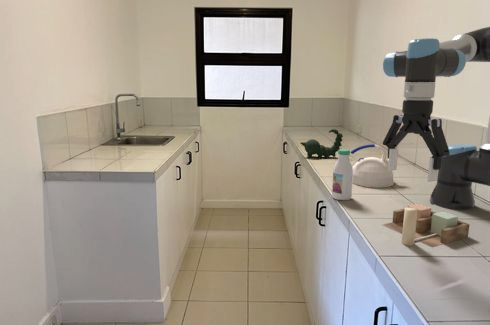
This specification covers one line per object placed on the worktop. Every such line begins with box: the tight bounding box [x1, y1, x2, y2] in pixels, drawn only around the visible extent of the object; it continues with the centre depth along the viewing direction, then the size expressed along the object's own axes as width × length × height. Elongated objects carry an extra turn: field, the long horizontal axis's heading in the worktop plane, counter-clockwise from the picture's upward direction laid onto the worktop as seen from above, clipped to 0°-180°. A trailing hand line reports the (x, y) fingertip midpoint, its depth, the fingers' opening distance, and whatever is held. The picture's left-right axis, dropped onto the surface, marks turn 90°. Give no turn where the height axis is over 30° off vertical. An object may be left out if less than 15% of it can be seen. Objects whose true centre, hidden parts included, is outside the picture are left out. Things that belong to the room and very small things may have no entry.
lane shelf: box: [382, 208, 471, 248], centre depth 119 cm, size 16×19×5 cm
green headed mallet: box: [401, 207, 459, 247], centre depth 113 cm, size 20×5×11 cm, turn 117°
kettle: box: [350, 144, 394, 189], centre depth 177 cm, size 20×21×18 cm
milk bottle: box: [331, 148, 353, 201], centre depth 152 cm, size 8×8×20 cm
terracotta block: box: [407, 203, 432, 219], centre depth 124 cm, size 5×5×6 cm
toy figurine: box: [300, 128, 344, 159], centre depth 232 cm, size 9×19×25 cm
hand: (411, 175), depth 106 cm, fingers open, 13 cm apart
